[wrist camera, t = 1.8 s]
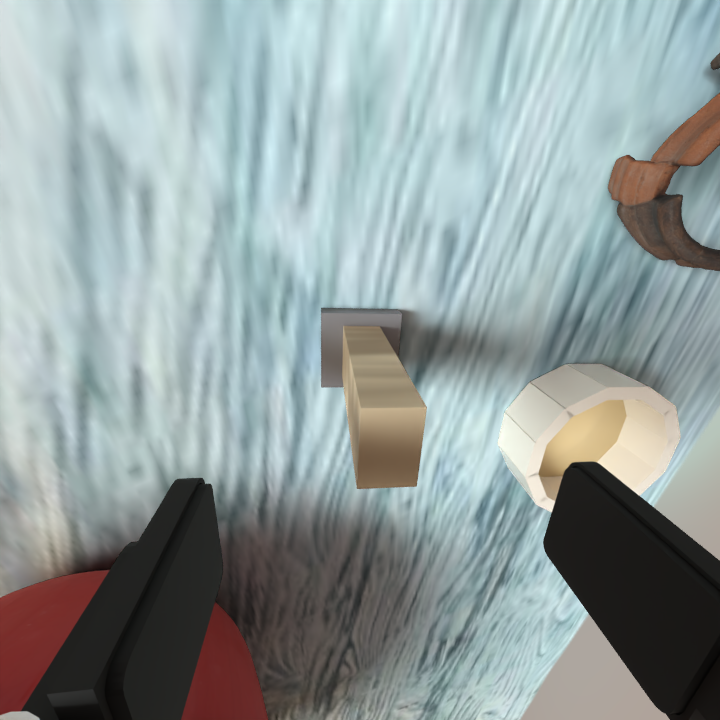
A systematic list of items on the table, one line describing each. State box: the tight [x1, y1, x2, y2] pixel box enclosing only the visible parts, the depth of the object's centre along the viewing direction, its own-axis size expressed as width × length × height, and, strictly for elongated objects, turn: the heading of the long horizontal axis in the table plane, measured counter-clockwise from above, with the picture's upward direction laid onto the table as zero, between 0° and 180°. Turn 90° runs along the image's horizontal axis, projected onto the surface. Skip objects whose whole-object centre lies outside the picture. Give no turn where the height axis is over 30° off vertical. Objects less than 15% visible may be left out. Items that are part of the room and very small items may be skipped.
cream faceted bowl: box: [498, 364, 681, 512], centre depth 22 cm, size 10×10×4 cm
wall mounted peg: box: [321, 308, 427, 489], centre depth 15 cm, size 4×4×10 cm
